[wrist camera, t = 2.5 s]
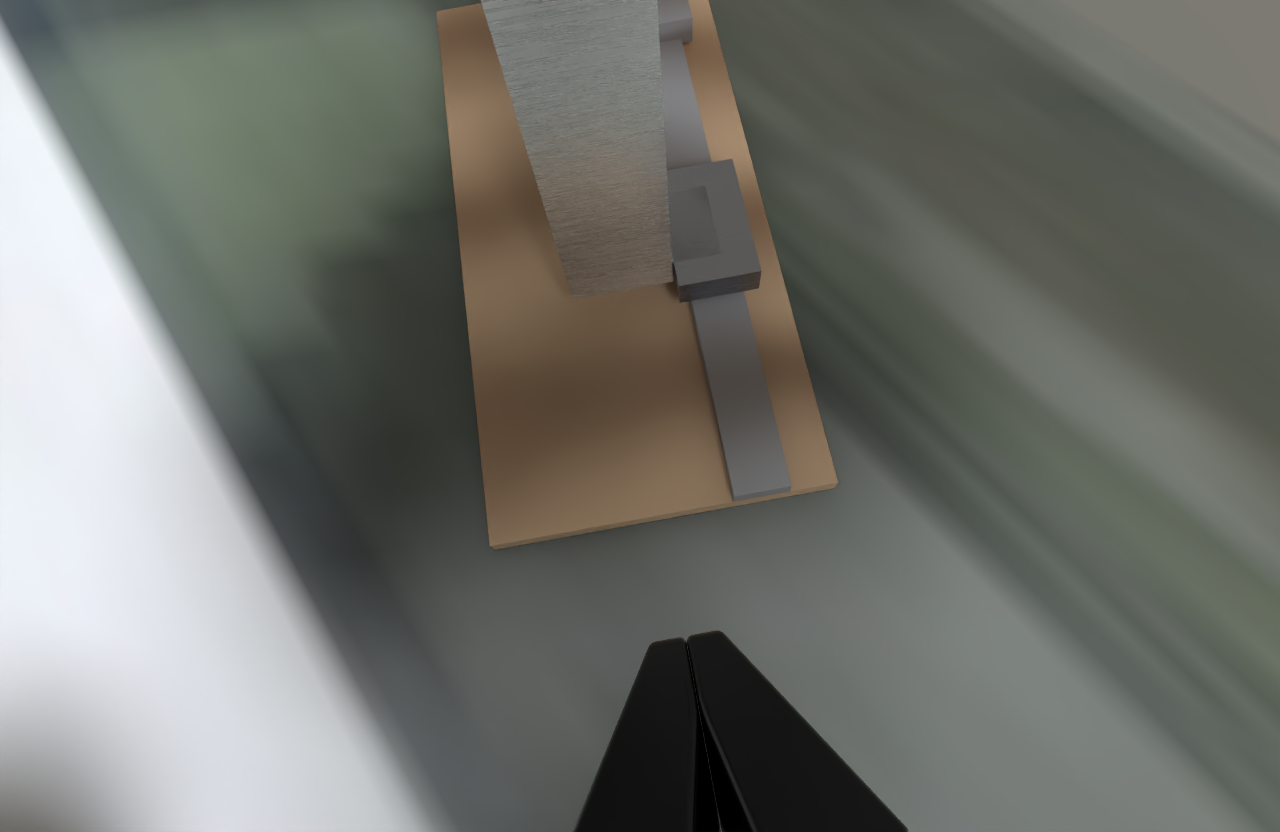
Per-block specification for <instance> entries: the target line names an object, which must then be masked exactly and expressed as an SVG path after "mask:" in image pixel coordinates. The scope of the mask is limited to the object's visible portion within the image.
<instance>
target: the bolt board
mask: <svg viewBox="0 0 1280 832" xmlns="http://www.w3.org/2000/svg"><path fill="white" fill-rule="evenodd" d="M657 5H658V23H659V41H660V59H661V77H662V95H663V113H664V131H665V149H666V167H667V170H672V169H678V168H683V167H689V166H694V165H700V164H705V163H710V162H716V161H721V160H727V159H733V163H734V167H735V170H736V174H737V178H738V182H739V186H740V190H741V194H742V197H743V201H744V205H745V209H746V213H747V217H748V221H749V224H750V228H751V232H752V236H753V240H754V244H755V248H756V251H757V255H758V259H759V263H760V267H761V271H762V272H761V278H760V285H759V289H753V290H748V291H743V292H737V293H732V294H726V295H721V296H715V297H710V298H704V299H699V300H693V301H688V302H683V303H680V302H679V298H678V293H677V288H676V284H675V280H673V282H668V283H662V284H657V285H651V286H646V287H640V288H635V289H629V290H624V291H619V292H613V293H608V294H602V295H597V296H591V297H586V298H580V299H575V300H573V299H572V296H571V292H570V289H569V286H568V283H567V279H566V276H565V273H564V270H563V266H562V263H561V260H560V257H559V253H558V250H557V247H556V244H555V240H554V237H553V234H552V231H551V227H550V224H549V221H548V218H547V214H546V211H545V208H544V205H543V201H542V198H541V195H540V192H539V188H538V185H537V182H536V179H535V175H534V172H533V169H532V166H531V162H530V159H529V156H528V153H527V149H526V146H525V143H524V140H523V136H522V133H521V130H520V127H519V123H518V120H517V117H516V114H515V110H514V107H513V104H512V101H511V97H510V94H509V91H508V88H507V84H506V81H505V78H504V75H503V71H502V68H501V65H500V62H499V58H498V55H497V52H496V49H495V45H494V42H493V39H492V36H491V32H490V29H489V26H488V23H487V19H486V16H485V13H484V10H483V6H482V3H479V4H474V5H468V6H463V7H457V8H452V9H447V10H441V11H436V13H437V23H438V33H439V43H440V53H441V63H442V73H443V83H444V93H445V103H446V113H447V124H448V134H449V144H450V154H451V164H452V174H453V184H454V194H455V204H456V214H457V224H458V234H459V244H460V254H461V264H462V274H463V284H464V294H465V304H466V314H467V324H468V334H469V344H470V354H471V364H472V374H473V384H474V394H475V404H476V414H477V424H478V434H479V444H480V454H481V464H482V474H483V484H484V495H485V505H486V515H487V525H488V535H489V545H490V547H492V548H493V549H494V550H497V549H502V548H508V547H513V546H519V545H524V544H530V543H535V542H541V541H546V540H552V539H557V538H563V537H568V536H574V535H579V534H585V533H590V532H596V531H601V530H607V529H612V528H618V527H623V526H629V525H634V524H640V523H645V522H651V521H656V520H662V519H667V518H673V517H678V516H684V515H689V514H695V513H700V512H706V511H711V510H717V509H722V508H728V507H733V506H739V505H744V504H750V503H755V502H761V501H766V500H772V499H777V498H783V497H788V496H794V495H799V494H805V493H810V492H816V491H821V490H827V489H832V488H835V487H836V485H837V484H838V480H837V476H836V473H835V469H834V465H833V462H832V458H831V454H830V450H829V447H828V443H827V439H826V436H825V432H824V428H823V424H822V421H821V417H820V413H819V410H818V406H817V402H816V399H815V395H814V391H813V387H812V384H811V380H810V376H809V373H808V369H807V365H806V361H805V358H804V354H803V350H802V347H801V343H800V339H799V335H798V332H797V328H796V324H795V321H794V317H793V313H792V309H791V306H790V302H789V298H788V295H787V291H786V287H785V283H784V280H783V276H782V272H781V269H780V265H779V261H778V258H777V254H776V250H775V246H774V243H773V239H772V235H771V232H770V228H769V224H768V220H767V217H766V213H765V209H764V206H763V202H762V198H761V194H760V191H759V187H758V183H757V180H756V176H755V172H754V168H753V165H752V161H751V157H750V154H749V150H748V146H747V142H746V139H745V135H744V131H743V128H742V124H741V120H740V117H739V113H738V109H737V105H736V102H735V98H734V94H733V91H732V87H731V83H730V79H729V76H728V72H727V68H726V65H725V61H724V57H723V53H722V50H721V46H720V42H719V39H718V35H717V31H716V27H715V24H714V20H713V16H712V13H711V9H710V5H709V1H708V0H657Z"/></svg>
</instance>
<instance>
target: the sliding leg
mask: <svg viewBox="0 0 1280 832" xmlns="http://www.w3.org/2000/svg"><path fill="white" fill-rule="evenodd" d="M481 3H482V6H483V10H484V13H485V16H486V19H487V23H488V26H489V29H490V32H491V36H492V39H493V42H494V45H495V49H496V52H497V55H498V58H499V62H500V65H501V68H502V71H503V75H504V78H505V81H506V84H507V88H508V91H509V94H510V97H511V101H512V104H513V107H514V110H515V114H516V117H517V120H518V123H519V127H520V130H521V133H522V136H523V140H524V143H525V146H526V149H527V153H528V156H529V159H530V162H531V166H532V169H533V172H534V175H535V179H536V182H537V185H538V188H539V192H540V195H541V198H542V201H543V205H544V208H545V211H546V214H547V218H548V221H549V224H550V227H551V231H552V234H553V237H554V240H555V244H556V247H557V250H558V253H559V257H560V260H561V263H562V266H563V270H564V273H565V276H566V279H567V283H568V286H569V289H570V292H571V296H572V299H573V300H575V299H580V298H586V297H591V296H597V295H602V294H608V293H613V292H619V291H624V290H629V289H635V288H640V287H646V286H651V285H657V284H662V283H668V282H673V280H675V284H676V288H677V293H678V298H679V302H680V303H683V302H688V301H693V300H699V299H704V298H710V297H715V296H721V295H726V294H732V293H737V292H743V291H748V290H753V289H759V285H760V278H761V272H762V271H761V267H760V263H759V259H758V255H757V251H756V248H755V244H754V240H753V236H752V232H751V228H750V224H749V221H748V217H747V213H746V209H745V205H744V201H743V197H742V194H741V190H740V186H739V182H738V178H737V174H736V170H735V167H734V163H733V159H727V160H721V161H716V162H710V163H705V164H700V165H694V166H689V167H683V168H678V169H672V170H667V167H666V149H665V131H664V113H663V95H662V77H661V59H660V41H659V23H658V5H657V0H481Z"/></svg>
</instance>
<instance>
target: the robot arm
mask: <svg viewBox="0 0 1280 832" xmlns="http://www.w3.org/2000/svg"><path fill="white" fill-rule="evenodd" d="M687 646H688V649H687ZM688 652H689V654H688ZM689 657H690V659H689ZM690 663H691V665H690ZM691 668H692V670H691ZM692 674H693V676H692ZM693 679H694V681H693ZM694 684H695V686H694ZM695 690H696V692H695ZM696 695H697V697H696ZM697 701H698V703H697ZM698 706H699V708H698ZM699 712H700V713H699ZM700 717H701V719H700ZM701 722H702V724H701ZM702 728H703V730H702ZM703 733H704V735H703ZM704 739H705V741H704ZM705 744H706V746H705ZM706 750H707V752H706ZM707 755H708V757H707ZM708 760H709V763H708ZM709 766H710V768H709ZM710 771H711V773H710ZM711 777H712V779H711ZM712 782H713V784H712ZM713 787H714V790H713ZM714 793H715V795H714ZM715 798H716V801H715ZM716 804H717V806H716ZM717 809H718V812H717ZM718 814H719V817H718ZM719 819H720V824H721V828H722V832H908V829H907V827H906V826H905V825H904V824H903V823H902V822H901V821H900V820H899V819H898V818H897V817H896V816H895V815H894V813H893V812H892V811H891V810H890V809H889V808H888V807H887V806H886V805H885V804H884V803H883V802H882V801H881V800H880V799H879V798H878V796H877V795H876V794H875V793H874V792H873V791H872V790H871V789H870V788H869V787H868V786H867V785H866V784H865V783H864V782H863V781H862V780H861V778H860V777H859V776H858V775H857V774H856V773H855V772H854V771H853V770H852V769H851V768H850V767H849V766H848V765H847V764H846V763H845V761H844V760H843V759H842V758H841V757H840V756H839V755H838V754H837V753H836V752H835V751H834V750H833V749H832V748H831V747H830V746H829V744H828V743H827V742H826V741H825V740H824V739H823V738H822V737H821V736H820V735H819V734H818V733H817V732H816V731H815V730H814V729H813V727H812V726H811V725H810V724H809V723H808V722H807V721H806V720H805V719H804V718H803V717H802V716H801V715H800V714H799V713H798V712H797V710H796V709H795V708H794V707H793V706H792V705H791V704H790V703H789V702H788V701H787V700H786V699H785V698H784V697H783V696H782V695H781V693H780V692H779V691H778V690H777V689H776V688H775V687H774V686H773V685H772V684H771V683H770V682H769V681H768V680H767V679H766V678H765V676H764V675H763V674H762V673H761V672H760V671H759V670H758V669H757V668H756V667H755V666H754V665H753V664H752V663H751V662H750V661H749V660H748V658H747V657H746V656H745V655H744V654H743V653H742V652H741V651H740V650H739V649H738V648H737V647H736V646H735V645H734V644H733V643H732V641H731V640H730V639H729V638H728V637H727V636H726V635H725V634H724V633H723V632H721V631H711V632H706V633H700V634H695V635H691V636H689V637H688V639H687V643H686V641H685V640H684V639H683V638H681V637H678V638H673V639H667V640H662V641H656V642H653V643H652V644H650V646H649V648H648V650H647V652H646V654H645V657H644V659H643V662H642V664H641V667H640V669H639V671H638V674H637V676H636V679H635V681H634V684H633V686H632V689H631V691H630V693H629V696H628V698H627V701H626V703H625V706H624V708H623V710H622V713H621V715H620V718H619V720H618V723H617V725H616V728H615V730H614V732H613V735H612V737H611V740H610V742H609V745H608V747H607V749H606V752H605V754H604V757H603V759H602V762H601V764H600V767H599V769H598V771H597V774H596V776H595V779H594V781H593V784H592V786H591V788H590V791H589V793H588V796H587V798H586V801H585V803H584V806H583V808H582V810H581V813H580V815H579V818H578V820H577V823H576V825H575V827H574V830H573V832H721V830H720V824H719Z"/></svg>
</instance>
